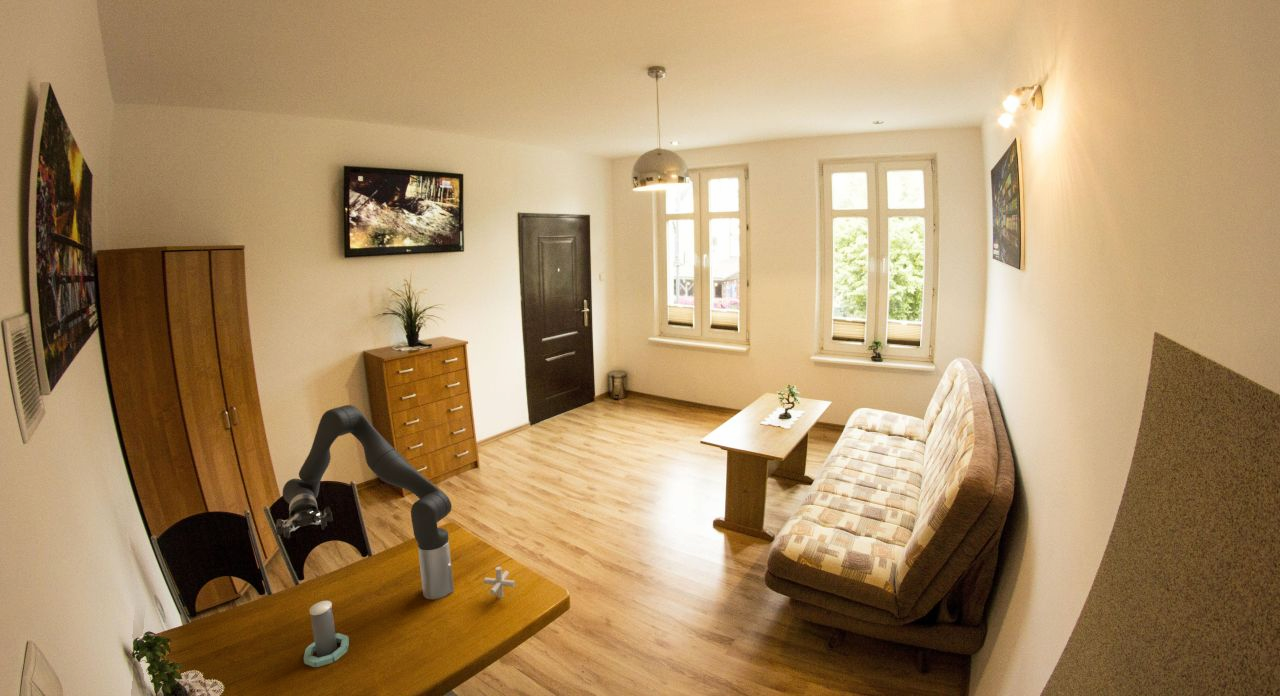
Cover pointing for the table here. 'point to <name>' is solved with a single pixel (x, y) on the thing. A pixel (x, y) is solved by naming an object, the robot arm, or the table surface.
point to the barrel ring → (327, 659)
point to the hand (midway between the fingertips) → (305, 530)
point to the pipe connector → (499, 582)
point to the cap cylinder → (323, 628)
